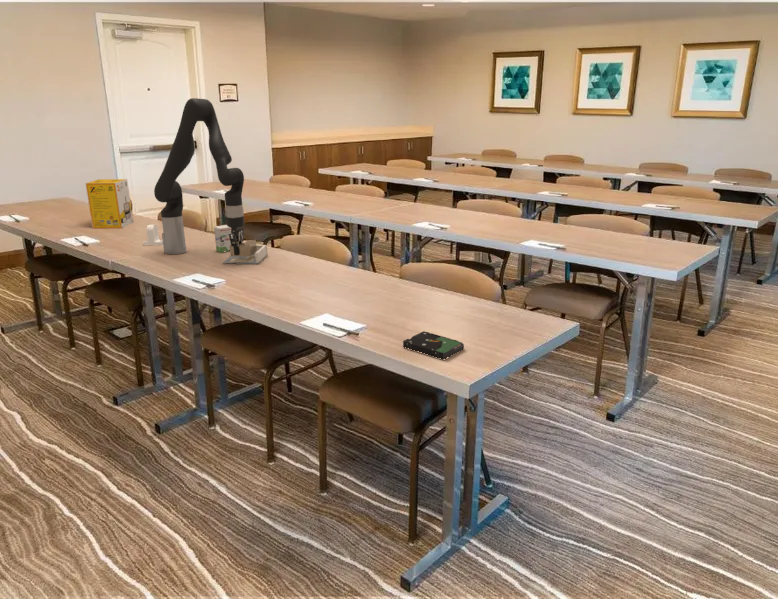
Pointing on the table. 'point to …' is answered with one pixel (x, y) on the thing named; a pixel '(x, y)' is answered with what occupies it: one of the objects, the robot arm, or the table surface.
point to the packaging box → (109, 203)
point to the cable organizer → (152, 236)
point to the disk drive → (433, 345)
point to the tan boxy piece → (245, 248)
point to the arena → (253, 259)
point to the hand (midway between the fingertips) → (238, 253)
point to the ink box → (222, 238)
